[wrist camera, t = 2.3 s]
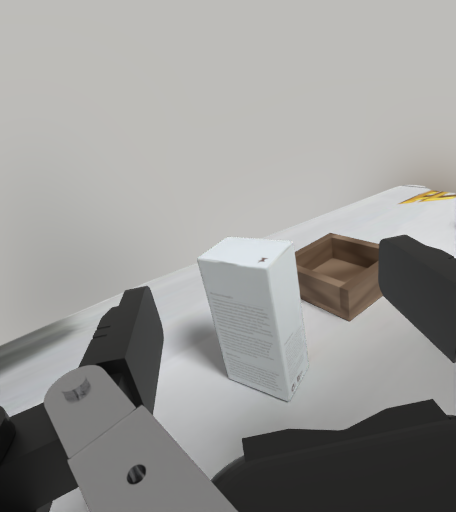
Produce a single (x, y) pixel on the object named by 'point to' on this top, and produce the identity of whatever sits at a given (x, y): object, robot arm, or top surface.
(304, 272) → the open wooden box
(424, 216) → the top surface
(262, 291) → the skincare box
